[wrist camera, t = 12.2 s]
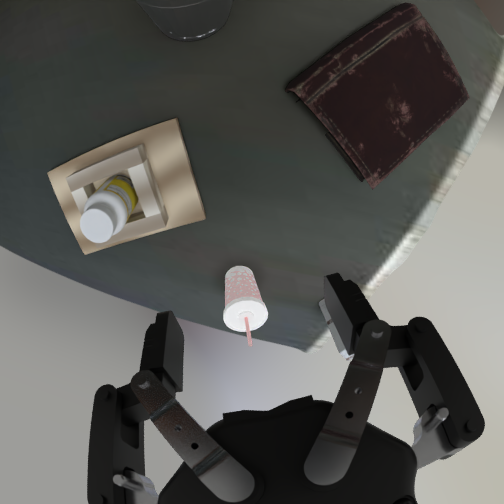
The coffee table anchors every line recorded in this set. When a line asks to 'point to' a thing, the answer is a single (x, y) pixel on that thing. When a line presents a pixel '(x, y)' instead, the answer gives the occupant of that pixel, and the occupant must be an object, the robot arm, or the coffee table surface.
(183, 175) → the socket board
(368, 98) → the diary
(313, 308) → the coffee table surface
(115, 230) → the supplement bottle
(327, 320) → the skincare box
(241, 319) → the beverage cup
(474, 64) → the coffee table surface
